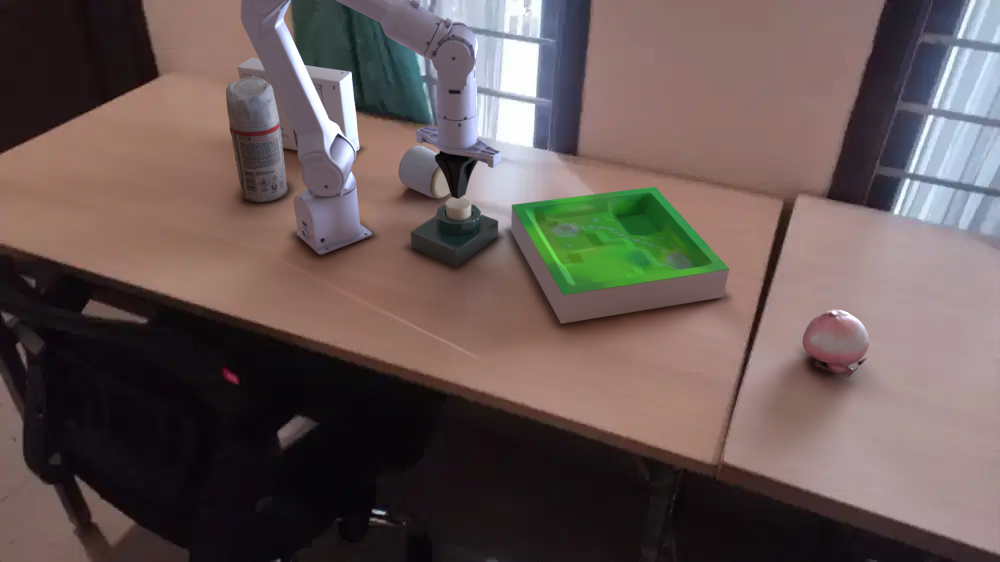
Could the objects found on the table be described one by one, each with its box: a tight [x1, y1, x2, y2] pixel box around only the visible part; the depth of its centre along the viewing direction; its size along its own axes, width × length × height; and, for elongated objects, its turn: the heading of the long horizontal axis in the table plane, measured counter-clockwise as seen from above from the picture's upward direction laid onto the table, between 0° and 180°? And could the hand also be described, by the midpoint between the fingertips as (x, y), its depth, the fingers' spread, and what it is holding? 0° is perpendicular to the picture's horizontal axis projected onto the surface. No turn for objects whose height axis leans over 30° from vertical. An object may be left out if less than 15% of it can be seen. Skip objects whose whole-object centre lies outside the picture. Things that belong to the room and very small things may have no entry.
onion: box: [802, 309, 870, 378], centre depth 99 cm, size 8×8×7 cm
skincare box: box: [237, 57, 360, 152], centre depth 146 cm, size 21×5×16 cm, turn 73°
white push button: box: [445, 196, 472, 220], centre depth 121 cm, size 4×4×2 cm
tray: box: [510, 186, 730, 324], centre depth 118 cm, size 25×25×5 cm
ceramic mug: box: [398, 144, 451, 200], centre depth 136 cm, size 11×8×8 cm
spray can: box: [225, 76, 289, 203], centre depth 130 cm, size 8×8×20 cm
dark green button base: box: [410, 203, 499, 268], centre depth 122 cm, size 11×9×5 cm
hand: (458, 195), depth 120 cm, fingers closed
